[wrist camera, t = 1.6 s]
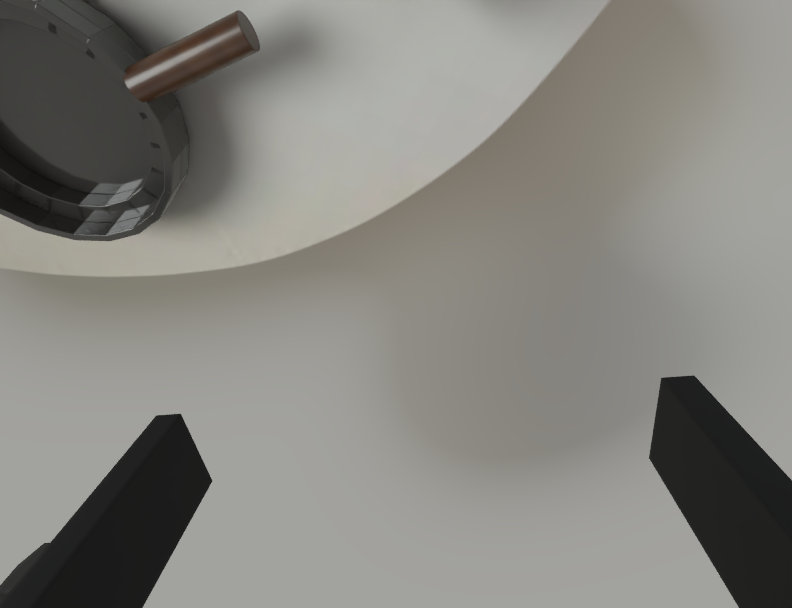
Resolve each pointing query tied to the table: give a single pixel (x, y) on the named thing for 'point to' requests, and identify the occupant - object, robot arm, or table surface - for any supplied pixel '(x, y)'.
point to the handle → (192, 58)
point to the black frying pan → (81, 126)
